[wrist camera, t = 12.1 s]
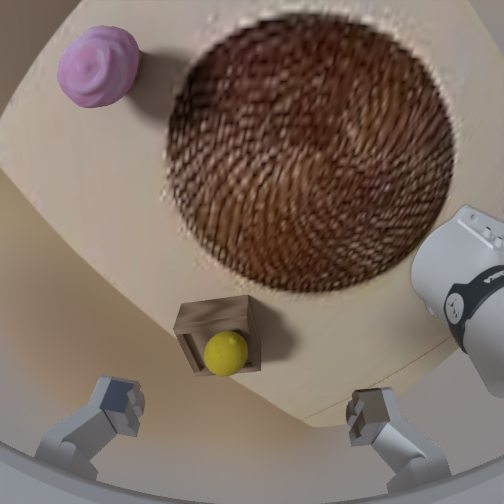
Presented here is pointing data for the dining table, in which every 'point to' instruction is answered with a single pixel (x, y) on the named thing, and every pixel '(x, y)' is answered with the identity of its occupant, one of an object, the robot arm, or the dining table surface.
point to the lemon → (225, 353)
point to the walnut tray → (217, 330)
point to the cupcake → (99, 66)
